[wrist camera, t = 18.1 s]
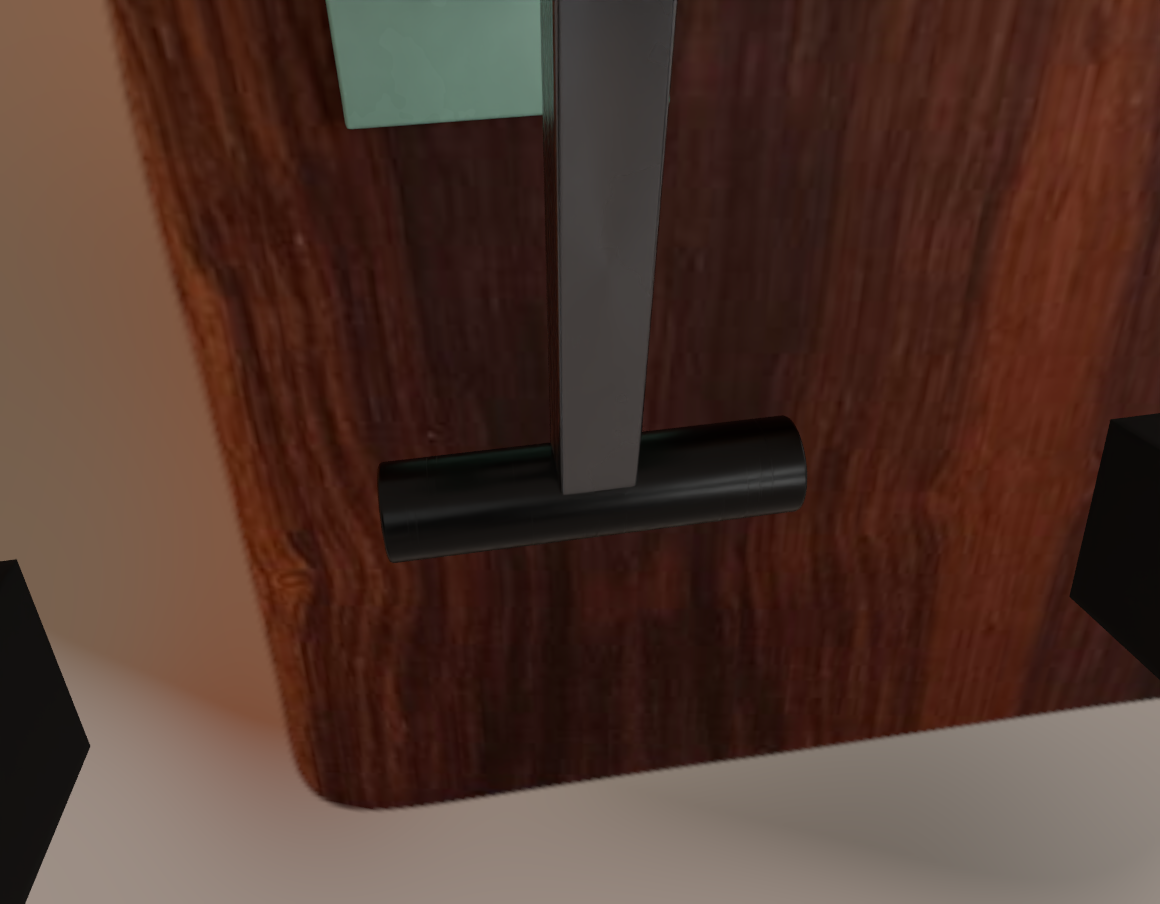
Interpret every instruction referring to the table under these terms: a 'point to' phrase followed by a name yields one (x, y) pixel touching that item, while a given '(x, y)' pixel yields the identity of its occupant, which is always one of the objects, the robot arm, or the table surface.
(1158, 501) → the robot arm
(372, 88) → the green lever stand
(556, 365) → the lever handle
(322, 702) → the table surface
